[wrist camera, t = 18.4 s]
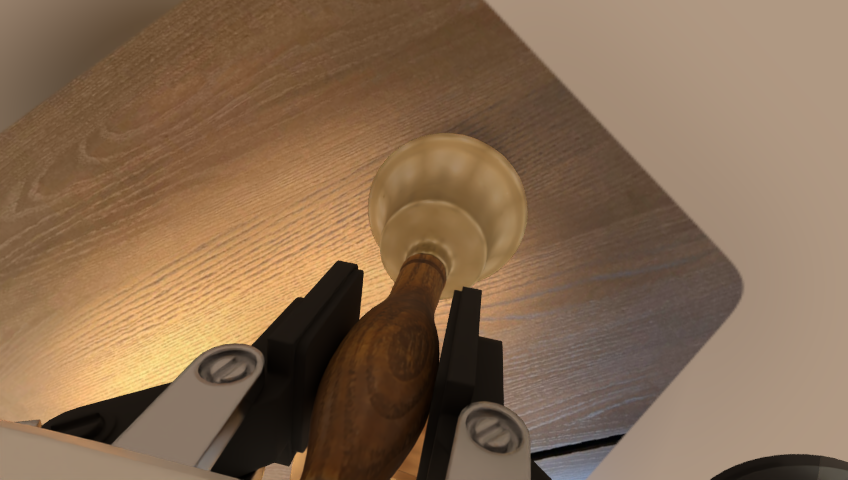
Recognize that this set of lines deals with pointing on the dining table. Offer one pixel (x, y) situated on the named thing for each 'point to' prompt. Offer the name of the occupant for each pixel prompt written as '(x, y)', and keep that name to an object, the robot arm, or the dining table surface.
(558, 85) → the dining table surface
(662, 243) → the dining table surface
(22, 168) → the dining table surface
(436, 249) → the hand bell
